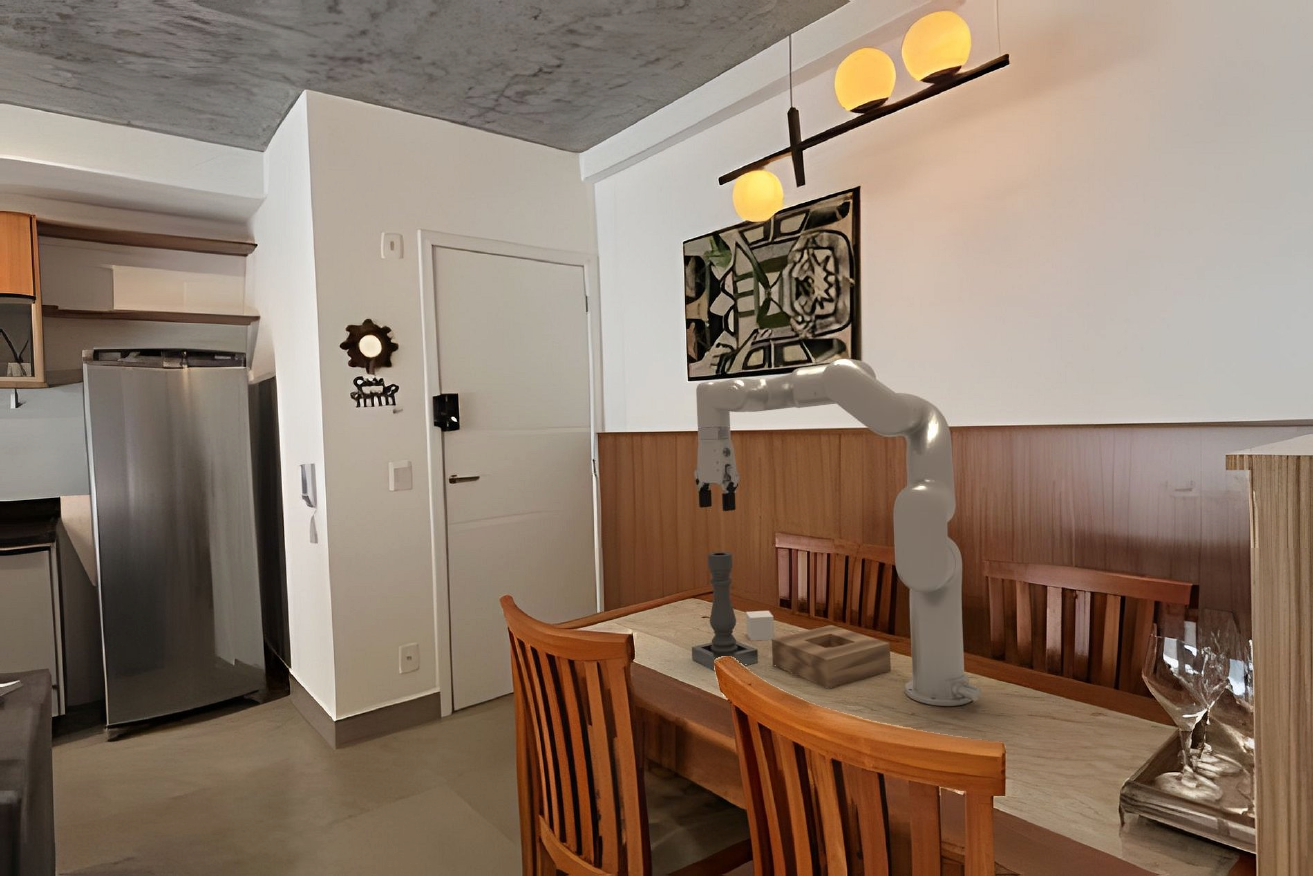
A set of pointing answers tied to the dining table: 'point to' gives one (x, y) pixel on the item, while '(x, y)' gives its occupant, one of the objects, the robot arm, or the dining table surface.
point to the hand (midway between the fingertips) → (717, 508)
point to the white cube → (760, 625)
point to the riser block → (831, 655)
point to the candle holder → (722, 604)
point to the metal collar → (707, 657)
